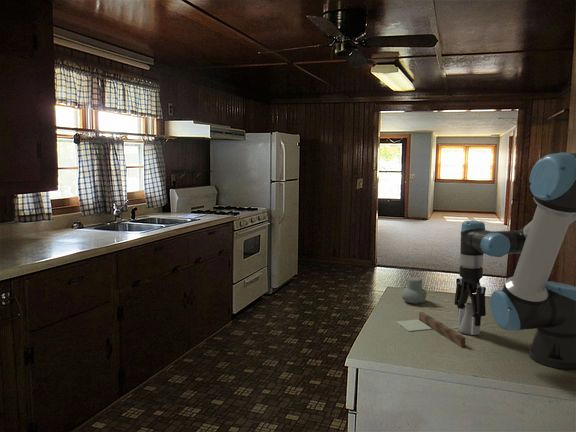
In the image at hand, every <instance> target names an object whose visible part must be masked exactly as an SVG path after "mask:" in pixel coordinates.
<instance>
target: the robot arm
mask: <svg viewBox="0 0 576 432" xmlns="http://www.w3.org/2000/svg"><path fill="white" fill-rule="evenodd" d="M528 181H529V184H530V185H529V189H530V192H531V193H532V195H533V201H534V202H535V204H536V205H537V206H536V208H535V212H534V215H533V217H532V220H530V222H528V223H527V224H526V225H525V226H524V227H521V228H520V229H518V230H499V231H494V230H493V231H492V230H486V224H485V222H483V221H479V220H464V221H463V222H462V223H461V228H460V229H461V231H460V247H459V249H460V252H459V264H460V266H459V273H458V275H459V278H456V279H455V280H456V281H455V282H456V287H455V296H454V305H455V306H456V307H457V317H458V318H457V327H458V328H459V326H460V324H461V322H462V319H463V317H464V314H465V308H466V306H465V303H468V299H469V297H470V303H472V307H473V313H474V315H472V329H471V334H472V335H473V336H475V335H480V332H481V331H480V329H481V326H482V325H481V323H482V317H486V315H487V314H486V312H487V311H486V291H487V288H486V286H482V285H481V281H480V280H481V279H482V278H483V277H484V276H483V274H484V272H483V271H484V268H483V266H484V255H487V256H489V257H493V258H502V257H504V256H506V255H515V254H520V255H519V258H518V261H517V264H516V267H515V270H514V273H513V275H512V276H511V277H507V278H506V280H505V282H504V284H503V287H502V289H497V290H494V291H493V292H492V293H491V295H490V299H489V308H490V311H491V315H492V317H493V320H494V321H495V323H496V324H497V325H498V326H499V327H500V328H501V329H503V330H505V331H515V332H516V331H517V332H518V331H524V330H533V329H536V331H535V333H534V336H533V339H532V342H531V344H529V348H528V356H529V357H530V359H531V360H533V361H535V362H536V363H538V364H540V365H544V366H546V367H551V368H556V369H562V370H563V369H564V370H576V286H574V285H572V284H571V285H570V284H566V283H561V282H558V281H557V282H556V281H551V280H550V281H549V278H550V275H551V273H552V270H553V267H554V265H555V262H556V259H557V258H558V254H559V251H560V250H561V247H562V244H563V242H564V239H565V236H566V233H567V230H568V228H569V226H570V225H571V224H572V223H574V222H575V221H576V152H572V153H571V152H558V153H549V154H547V155H546V154H545V156H543V157H541V158H539V159H538V160H537V161H536V162H535V164H534V165H533V167H532V169H531V171H530V175H529V180H528Z"/></svg>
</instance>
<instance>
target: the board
mask: <svg viewBox="0 0 576 432" xmlns="http://www.w3.org/2000/svg"><path fill="white" fill-rule="evenodd" d="M395 323H396V324H397V325H399V326H400V327H402V328H403V329H404V330H406V331H407V332H409V331H410V332H417V331H429V330H432V328H431V327H429V326H427V325H426V324H424V323H423V322H421V321H420V320H419V319H410V320H408V319H406V320H398V321H397V320H396V321H395Z"/></svg>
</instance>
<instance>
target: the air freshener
mask: <svg viewBox="0 0 576 432" xmlns="http://www.w3.org/2000/svg"><path fill="white" fill-rule="evenodd" d="M422 285H423V280H422V278H420V277H416V276H415V277H413V276H412V277H407V286H406V287H405V288H403V290H402V292H401V297H402V298H401V299H402V300H403V301H405V302H406V303H408V304H409V303H410V304H414V305H415V304H416V305H417V304H418V305H419V304H422V303H424V302H425V301H426V298H427V295H428V294H427V291H426V289H424V288H423V286H422Z"/></svg>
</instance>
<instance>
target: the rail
mask: <svg viewBox="0 0 576 432" xmlns="http://www.w3.org/2000/svg"><path fill="white" fill-rule="evenodd" d="M418 314H419V315H418V316H419V317H418V320H420V321H421V322H423V323H424V324H426V325H427V326H429V327H430V328H432V329H433V331H435V332H437V333H438V334H440V335H441V336H443V337H444V338H446V339H448V340H449V341H451V342H453V343H454V344H455V345H457V346H458V347H460V348H464V347H466V337H465V336H463V334H460V332H456V331H455V330H453V329H452V328H450V327H449V326H447V325H445V324H444V323H442V322H440V321H439V320H437V319H435V318H434V317H432V316H430V315H428V314H427V313H425V312H423V311H421V312H420V311H419V312H418ZM432 329H431V330H432Z"/></svg>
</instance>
